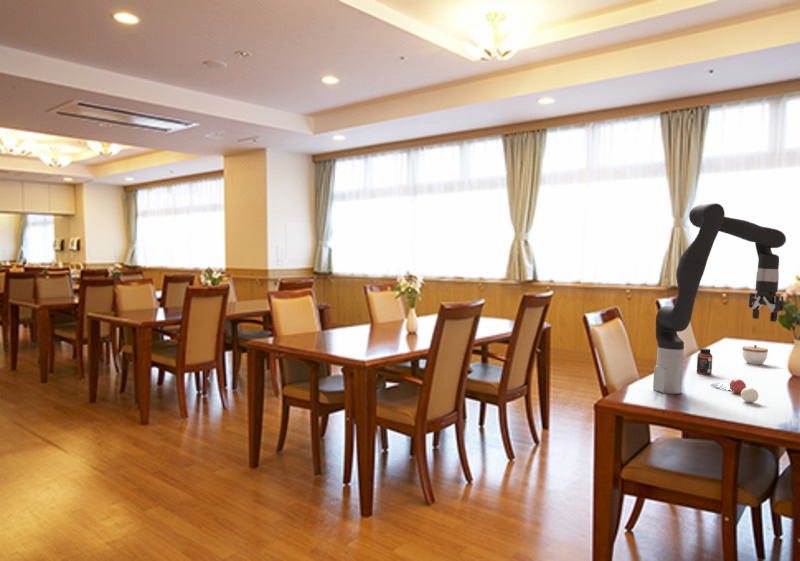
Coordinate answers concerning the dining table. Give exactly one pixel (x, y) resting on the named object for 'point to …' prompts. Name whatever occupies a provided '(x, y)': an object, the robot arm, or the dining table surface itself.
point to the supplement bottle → (704, 362)
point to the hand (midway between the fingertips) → (764, 320)
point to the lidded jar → (754, 354)
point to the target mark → (718, 387)
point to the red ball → (737, 385)
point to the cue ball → (749, 394)
